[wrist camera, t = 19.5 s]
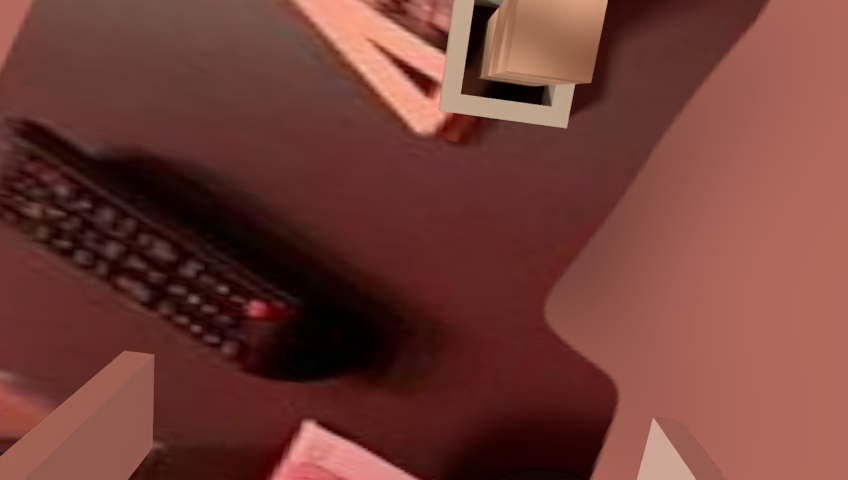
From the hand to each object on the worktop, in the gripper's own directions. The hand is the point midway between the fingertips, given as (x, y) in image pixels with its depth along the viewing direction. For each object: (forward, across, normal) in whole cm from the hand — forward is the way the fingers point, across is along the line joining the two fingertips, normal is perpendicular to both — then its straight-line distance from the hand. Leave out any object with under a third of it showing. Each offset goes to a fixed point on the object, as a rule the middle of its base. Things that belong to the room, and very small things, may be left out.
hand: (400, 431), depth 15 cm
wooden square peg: (+32, -5, -12) cm, 34 cm away
